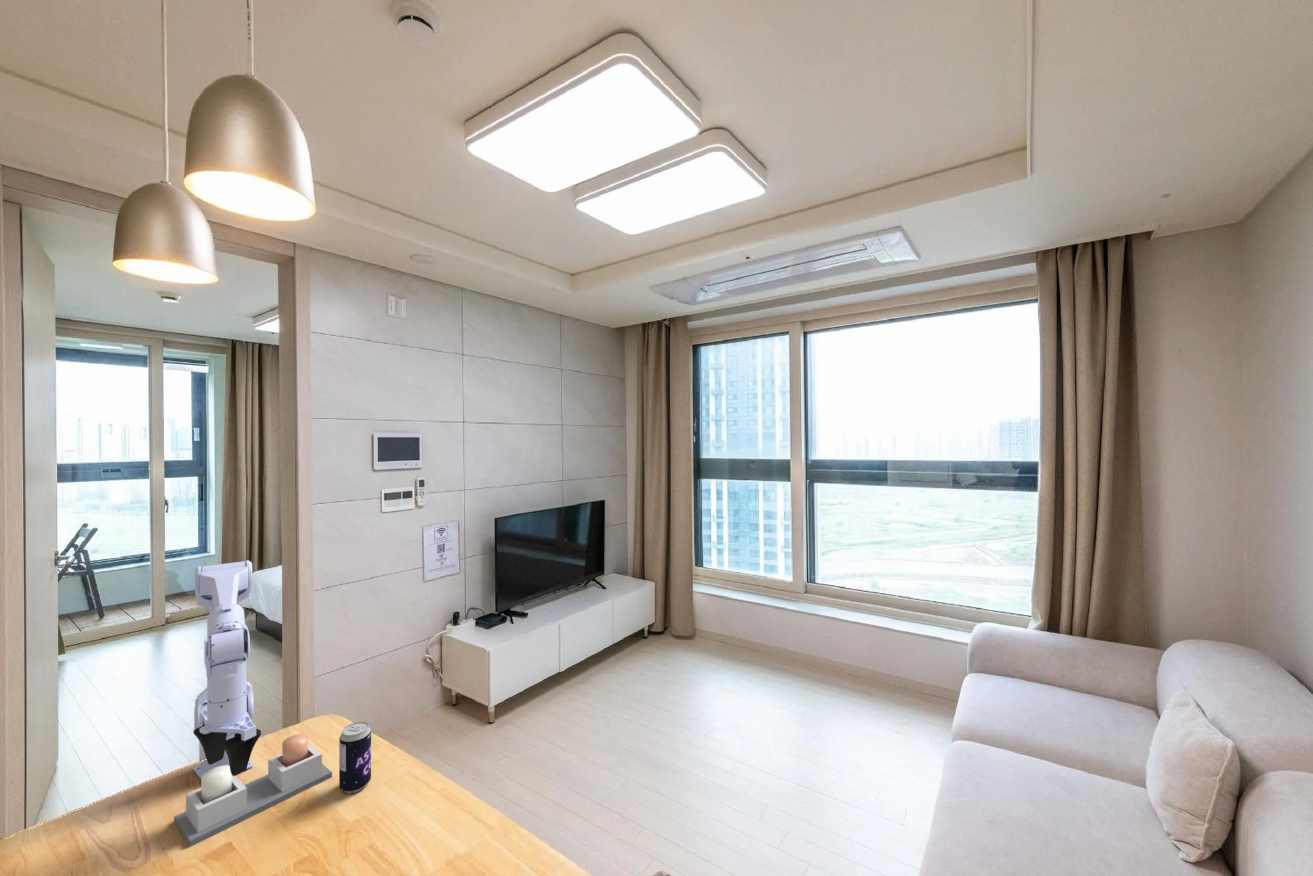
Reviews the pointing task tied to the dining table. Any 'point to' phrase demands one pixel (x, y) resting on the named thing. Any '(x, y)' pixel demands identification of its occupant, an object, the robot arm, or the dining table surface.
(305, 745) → the terracotta plug
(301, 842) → the dining table surface
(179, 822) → the plug panel
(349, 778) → the beverage can
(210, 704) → the robot arm
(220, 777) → the cream plug
